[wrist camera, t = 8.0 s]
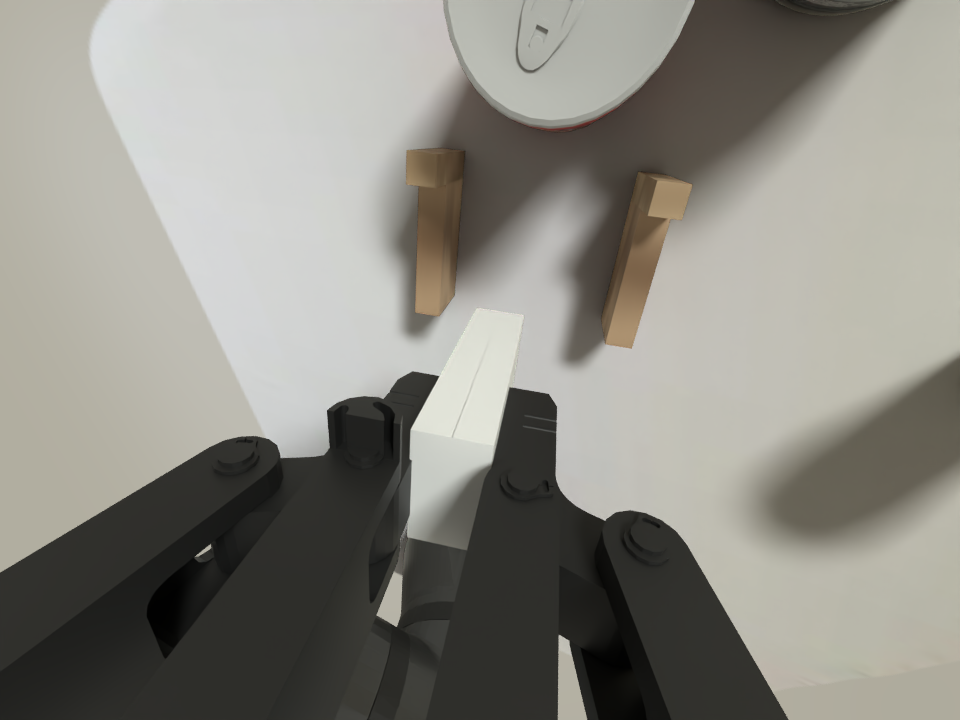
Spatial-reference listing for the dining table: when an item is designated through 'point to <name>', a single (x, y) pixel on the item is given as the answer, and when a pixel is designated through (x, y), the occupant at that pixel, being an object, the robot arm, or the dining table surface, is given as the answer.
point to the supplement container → (830, 6)
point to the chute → (634, 262)
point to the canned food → (562, 54)
